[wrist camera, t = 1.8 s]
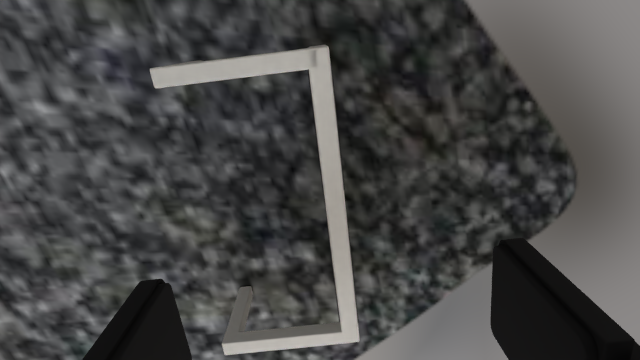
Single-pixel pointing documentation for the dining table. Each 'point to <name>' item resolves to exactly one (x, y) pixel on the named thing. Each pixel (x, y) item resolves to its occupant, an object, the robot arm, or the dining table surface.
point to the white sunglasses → (332, 183)
